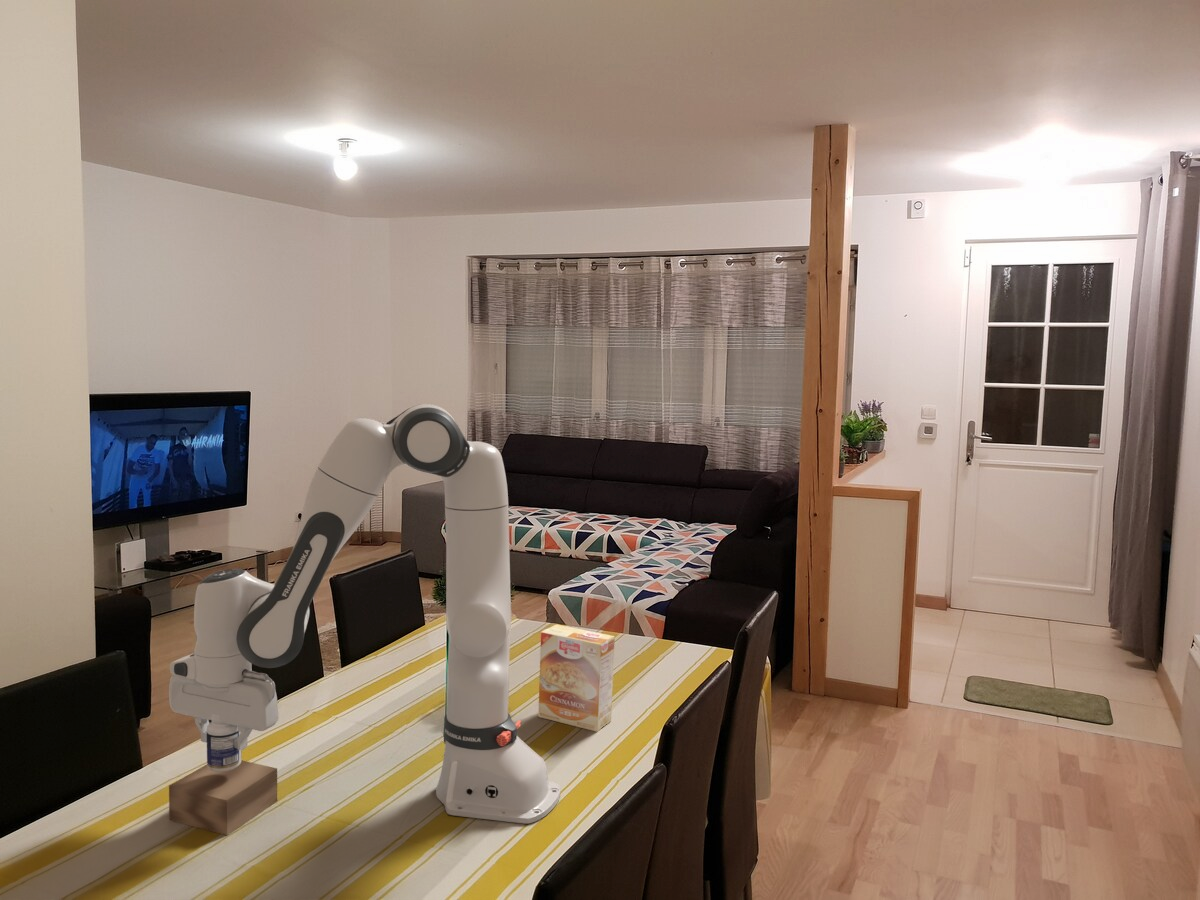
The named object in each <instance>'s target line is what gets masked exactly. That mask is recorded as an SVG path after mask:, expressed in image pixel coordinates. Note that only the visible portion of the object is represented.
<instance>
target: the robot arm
mask: <svg viewBox="0 0 1200 900" xmlns="http://www.w3.org/2000/svg"><path fill="white" fill-rule="evenodd" d="M328 447H329V448H328V449H327V450H326V452H325V454H324V455H323V457H322V459H321V460H320V463H319V464H318V467H317V468H316V470H315V471H314V474H313V477H312V479H311V482H310V484H309V486H308V489H307V492H306V496H305V499H304V503H303V507H302V511H301V517H300V520H299V521H300V522H299V527H298V531H297V536H296V539H295V542H294V545H293V547H292V550H291V552H290V554H289V556H288V558H287V560H286V562H285V564H284V566H283V568H282V570H281V572H280V573H279V576H278V578H277V580H275V581H276V582H275V583H270V582H267V581H265V580H262V579H260V578H257V577H256V576H253V575H252V574H250V573H249V572H248V571H247V570H246V569H242V568H230V569H229V568H227V569H222V570H219V571H215V572H213V573H210V574H208V575H207V576H205V577H204V578H203V579H202V580H201V581H200V582H199V583H198V585H197V588H196V591H195V594H194V595H195V596H194V604H193V605H194V607H193V609H194V610H193V627H194V631H195V633H196V642H195V645H194V650H193V651H194V653H191V654H188V655H185V656H182V657H181V658H178V659H176V660H174V661H172V662H171V663H169V672H170V674H171V677H170V679H169V686H168V687H169V688H168V699H169V700H168V701H169V702H168V703H169V707H170V708H171V710H172V712H173V713H176V714H180V715H186V716H189V717H194V723H195V725H196V727H197V729H198V731H199V732H200V741H201V742H202V743H206V744H207V726H208V724H209V723H210V721H211V720H212V719H211V718H212V714H217V715H220V721H221V722H222V723H226V724H231V725H235V726H238V731H239V732H241V733H240V735H239V737H238V738H235V739H233V744H234V745H233V748H234V749H237V750H241V751H243V750H245V749H247V747H248V738H249V736H250V734H251V733H252V731H253V730H255V731H259V732H264V731H266V730H268V729H269V728H272V727H273V726H275V725H276V723H277V722H278V721H279V718H280V716H279V714H280V713H279V705H278V704H279V702H278V696H277V692H276V691H277V690H276V684H275V681H274V680H273V679H272V678H271V677H269V675H268V674H267V673H264V672H257V671H254V670H252V665H254V666H257V667H259V668H266V669H273V668H274V669H275V668H280V667H283V666H285V665H288V664H289V663H291V662H292V661H293V660H294V659H296V657H297V656H298V655H299V653H300V652H301V650H302V647H303V645H304V640H305V633H306V630H307V626H308V622H309V618H310V613H311V610H310V609H311V608H310V605H311V603H312V601H313V599H314V597H315V595H316V593H317V592H318V589H319V587H320V585H321V583H322V581H323V579H324V578H325V576H326V573H327V571H328V569H329V566H331V564H332V562H333V560H334V559H335V557H336V556H337V555H338V554H339V552H340V551H341V549H342V548H343V546H344V545H346V543H347V542H348V541H349V539H350V538H351V536H352V535H353V534H354V533H355V531H356V530H357V529H358V528H359V526H361V524H362V522H363V521H364V520H365V519H366V517H367V516H368V514H369V512H370V511H371V509H372V507H373V506H374V504H375V503H376V501H377V500H378V497H379V495H380V493H381V490H382V488H383V486H384V485H385V483H386V481H387V480H388V478H389V477H390V475H391V473H392V472H393V471H394V470H395V469H397V468H398V467H401V466H404V465H407V466H408V467H410V468H412V469H414V470H416V471H419V472H422V473H426V474H432V475H435V476H439V477H441V479H442V482H443V487H444V511H445V516H444V518H445V541H446V543H445V544H446V546H445V547H446V549H445V550H446V553H445V554H446V560H445V561H446V563H445V564H446V565H445V567H446V569H445V572H446V573H445V579H446V581H445V584H446V585H445V586H446V587H445V589H446V590H445V594H446V595H445V597H446V599H445V600H446V601H445V602H446V603H445V605H446V607H445V609H446V610H445V611H446V612H445V613H446V614H445V615H446V629H447V633H448V640H449V641H448V655H447V656H448V657H447V658H448V659H447V660H448V661H447V674H446V675H447V678H446V679H447V682H446V683H447V685H446V713H445V715H444V718H443V743H444V753H443V761H442V766H441V770H440V771H441V772H440V776H439V780H438V782H437V786H436V789H435V794H436V795H435V796H436V797H437V799H438V800H439V801H440V802H441V803H442V804H443V805H444V808H445V812H446V814H448V815H449V816H456V817H464V818H473V819H483V820H489V821H491V820H492V821H499V822H510V823H516V824H517V823H518V824H527V825H528V824H532V823H534V822H537V821H539V820H541V819H542V818H544V817H545V816H547V815H548V814H549V813H550V812H552V810H553V809H554V808H555V806H556V805H557V804H558V802H559V800H560V798H561V787H560V785H559V784H558V783H557V782H554V781H552V780H549V774H548V767H547V764H546V762H545V760H544V758H543V757H542V756H540V755H539V753H537V752H535V751H534V750H533V749H532V748H531V747H530V746H529V745H527V743H526V742H524V741H523V740H522V739H521V738H520V737H519V736H518V735H517V734H518V729H519V728H521V726H522V725H521V722H522V720H521V719H519V720H517V721H516V723H515V722H514V721H513V719H512V717H511V715H510V713H509V701H510V700H509V698H510V697H509V696H510V693H509V692H510V690H509V689H510V646H511V645H510V644H511V643H510V642H511V639H510V637H511V628H512V601H511V600H512V597H511V595H512V594H511V563H510V562H511V561H510V559H511V558H510V557H511V556H510V526H509V524H510V523H509V522H510V521H509V519H510V518H509V496H508V495H509V493H508V492H509V491H508V483H507V482H508V481H507V476H506V469H505V465H504V460H503V457H502V454H501V452H500V451H499V449H498V448H497V447H496V446H494V445H492V444H490V443H487V442H485V441H484V442H483V441H470V440H467V439H466V437H465V435H464V434H463V432H462V431H461V429H460V427H459V424H457V422H456V420H455V419H454V417H453V416H452V415H451V414H450V412H448V411H447V410H446V409H445V408H443V407H441V406H439V405H436V404H432V403H431V404H429V403H423V404H422V403H421V404H417V405H413V406H410V407H409V408H407V409H406V410H404V411H403V412H401V413H399V414H398V415H396V416H395V417H394V418H392V419H390V420H389V421H387V422H386V423H382V422H380V421H378V420H376V419H373V418H366V417H365V418H364V417H358V418H354V419H351V420H350V421H348V422H347V424H345V425H344V427H343V428H342V429H341V430H340V431H339V433H338V434H337V436H336V437H335V438H334V439H333V441H332V443H330V446H328Z"/></svg>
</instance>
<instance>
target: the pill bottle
mask: <svg viewBox="0 0 1200 900" xmlns="http://www.w3.org/2000/svg"><path fill="white" fill-rule="evenodd" d="M211 719H212V720H210V721H209V724H208V726H207V743H206V765H207V766H208V768H209V769H210V770H212V771H218V772H220V771H228V770H232V769H234V768H236V767H238V766H239V765H240V763H241V760H242V750H237V749H234V748H233V745H234V744H233V739H235V738H238V737H239V735H240V733H241V732H239V731H238V726H235V725H231V724H226V723H222V722H221V721H220V715H217V714H212V718H211Z"/></svg>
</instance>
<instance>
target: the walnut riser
mask: <svg viewBox="0 0 1200 900" xmlns="http://www.w3.org/2000/svg"><path fill="white" fill-rule="evenodd" d="M277 802H278V768H277V767H273V766H272V767H271V766H268V765H263V764H259V763H255V762H252V761H251V762H250V761H247V760H242V759H241V763H240V765H239V766H238V767H236V768H234V769H232V770H228V771H220V772H218V771H212V770H210V769H209V768H208V766H207V764H204V765H203V766H202V767H200V768H198V769H196V770H195V771H192V772H191V773H189V774H187V775H185V776H184V777H182V778H180V779H179V780H176V781H175V782H173V783H172V784H169V785H168V809H169V821H172V822H175V823H178V824H183V825H187V826H191V827H194V828H197V829H201V830H206V831H210V832H213V833H217V834H219V835H224V836H228V835H230V834H231V833H233V832H234V831H236V830H237V829H239V828H241V827H242V826H243V825H245V824H246V823H248V822H249V821H251V820H252V819H254V818H255V817H256V816H257V815H259V814H260V813H262V812H264V811H265V810H267V809H268V808H269V807H272V805H274V804H275V803H277Z"/></svg>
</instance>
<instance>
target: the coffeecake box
mask: <svg viewBox="0 0 1200 900" xmlns="http://www.w3.org/2000/svg"><path fill="white" fill-rule="evenodd" d="M539 652H540V653H539V654H540V655H539V657H540V658H539V681H538V685H539V686H538V718H542V719H545V720H548V721H554V722H557V723H562V724H565V725H569V726H572V727H577V728H581V729H584V730H585V729H586V730H588V731H591V732H596V733H598V732H599V731H601V730H602V729H603V728H602V727H603V726H604V727H605V726H607V725H608V724H609V723H610V722H612V713H613V712H612V708H613V688H614V687H613V684H614V665H615V664H614V663H615V661H614V658H615V635H611V634H606V633H601V632H597V631H592V630H586V629H581V628H576V627H572V626H566V625H561V624H557V623H556V624H554V625H552V626H551V627H548V628H545V629H544V630H542V631H540V651H539ZM606 724H607V725H606ZM601 728H602V729H601Z"/></svg>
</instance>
